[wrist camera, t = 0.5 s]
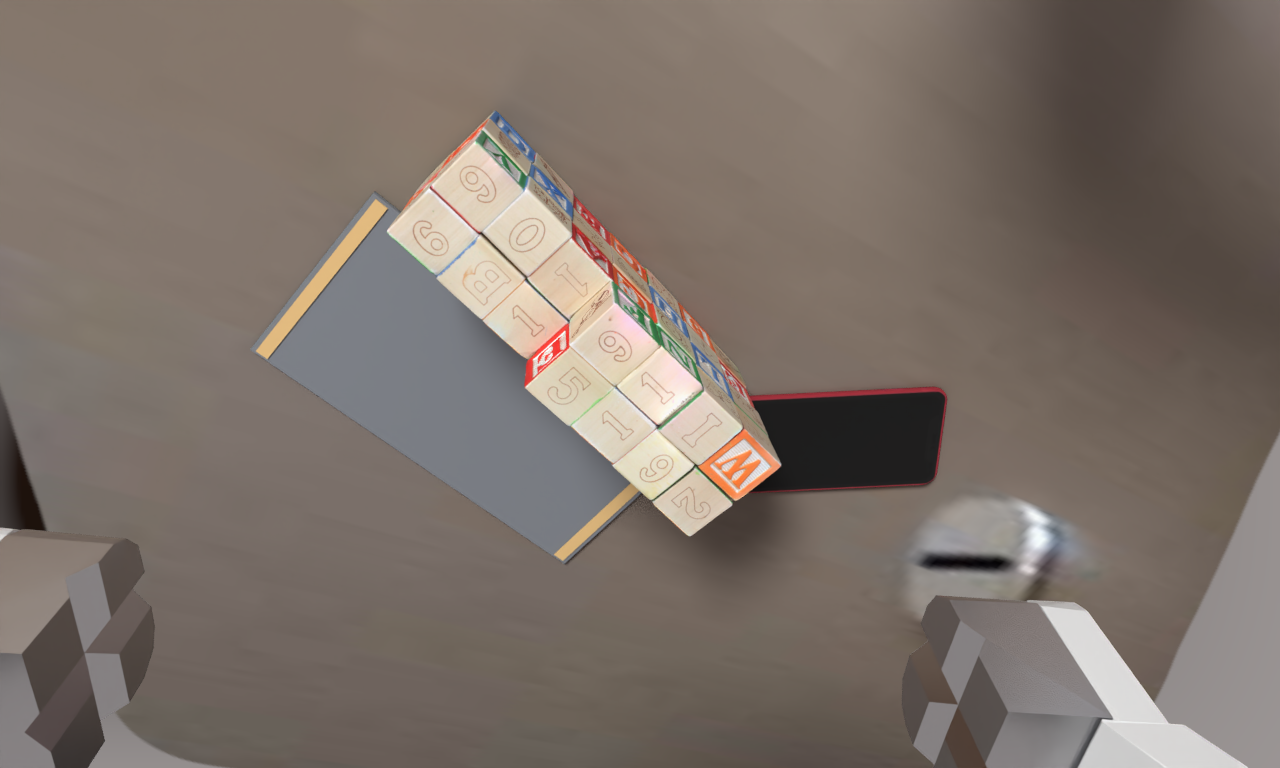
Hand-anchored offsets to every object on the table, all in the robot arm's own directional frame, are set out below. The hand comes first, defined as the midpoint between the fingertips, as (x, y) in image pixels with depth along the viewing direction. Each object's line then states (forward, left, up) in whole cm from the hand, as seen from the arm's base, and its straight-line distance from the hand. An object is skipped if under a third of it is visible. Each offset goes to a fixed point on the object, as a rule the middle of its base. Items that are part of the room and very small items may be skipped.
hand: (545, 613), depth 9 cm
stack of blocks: (+9, +7, -41) cm, 43 cm away
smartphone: (+7, +26, -42) cm, 50 cm away
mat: (+19, +7, -41) cm, 46 cm away
